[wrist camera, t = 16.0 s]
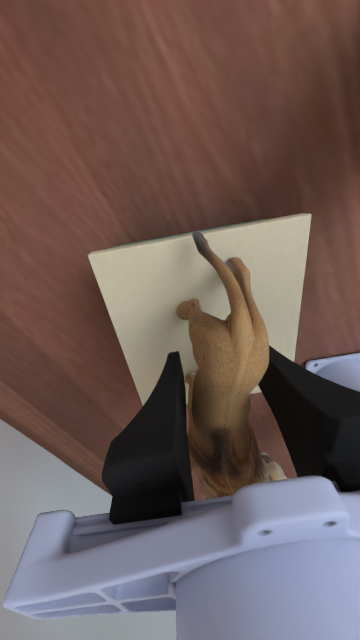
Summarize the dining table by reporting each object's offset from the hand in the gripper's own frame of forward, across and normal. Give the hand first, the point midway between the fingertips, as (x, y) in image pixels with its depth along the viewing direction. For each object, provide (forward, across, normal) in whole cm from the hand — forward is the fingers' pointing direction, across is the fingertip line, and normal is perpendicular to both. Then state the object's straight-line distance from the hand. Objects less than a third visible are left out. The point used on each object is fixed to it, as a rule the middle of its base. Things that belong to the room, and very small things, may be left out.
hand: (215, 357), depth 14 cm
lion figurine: (+2, 0, 0) cm, 2 cm away
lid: (+3, 0, 0) cm, 3 cm away
